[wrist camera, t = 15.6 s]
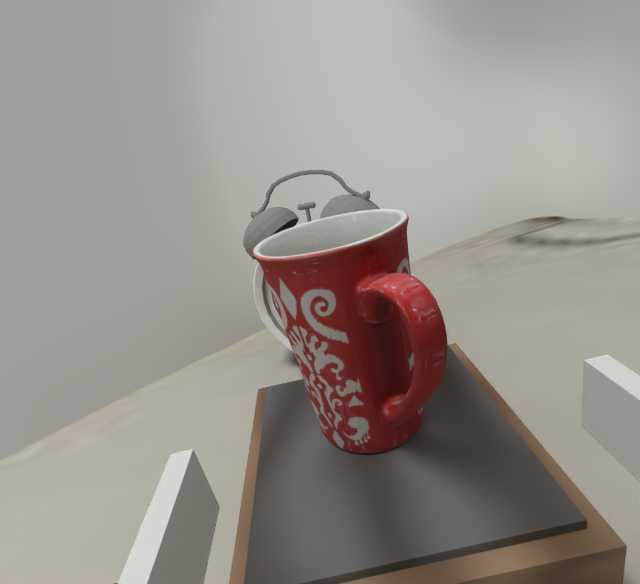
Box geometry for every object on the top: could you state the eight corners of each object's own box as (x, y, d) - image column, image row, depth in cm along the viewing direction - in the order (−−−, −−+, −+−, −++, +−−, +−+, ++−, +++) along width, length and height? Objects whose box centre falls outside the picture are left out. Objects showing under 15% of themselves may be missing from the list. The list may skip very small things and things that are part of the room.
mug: (290, 406, 29) (238, 241, 24) (388, 362, 31) (359, 203, 26) (372, 550, 18) (305, 292, 13) (515, 461, 20) (505, 219, 15)
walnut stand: (461, 392, 35) (455, 337, 32) (618, 619, 18) (627, 536, 16) (274, 435, 35) (256, 383, 33) (256, 697, 18) (216, 626, 16)
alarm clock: (269, 371, 46) (210, 193, 38) (297, 335, 53) (252, 179, 45) (402, 375, 39) (365, 160, 31) (413, 333, 46) (385, 150, 38)
